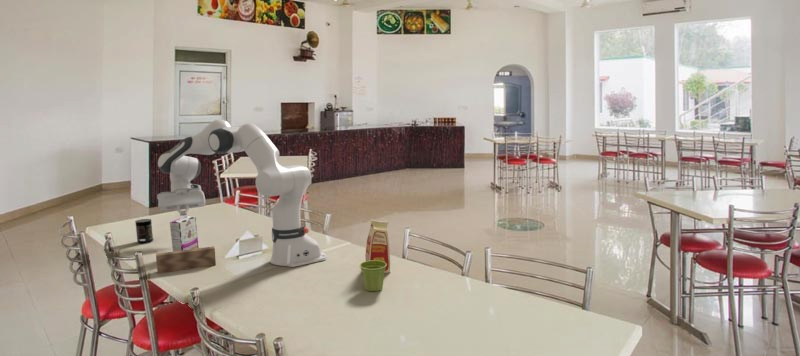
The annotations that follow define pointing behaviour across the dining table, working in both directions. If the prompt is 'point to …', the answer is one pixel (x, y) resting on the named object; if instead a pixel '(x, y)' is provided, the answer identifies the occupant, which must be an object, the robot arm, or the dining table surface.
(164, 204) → the robot arm
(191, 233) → the candy bar box
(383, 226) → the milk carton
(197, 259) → the walnut board
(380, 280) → the plant pot
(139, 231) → the supplement container
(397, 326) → the dining table surface
